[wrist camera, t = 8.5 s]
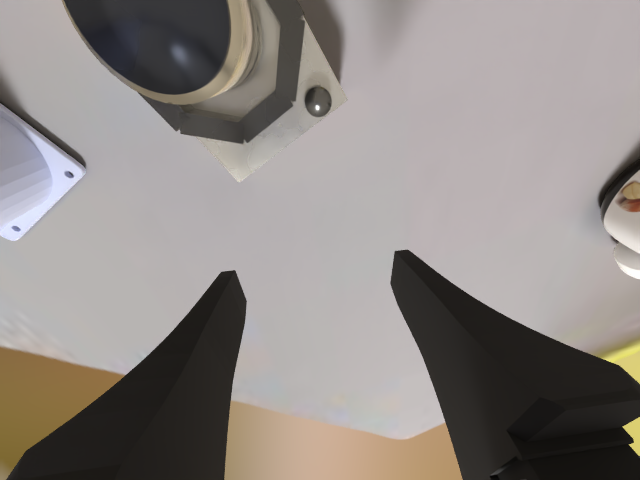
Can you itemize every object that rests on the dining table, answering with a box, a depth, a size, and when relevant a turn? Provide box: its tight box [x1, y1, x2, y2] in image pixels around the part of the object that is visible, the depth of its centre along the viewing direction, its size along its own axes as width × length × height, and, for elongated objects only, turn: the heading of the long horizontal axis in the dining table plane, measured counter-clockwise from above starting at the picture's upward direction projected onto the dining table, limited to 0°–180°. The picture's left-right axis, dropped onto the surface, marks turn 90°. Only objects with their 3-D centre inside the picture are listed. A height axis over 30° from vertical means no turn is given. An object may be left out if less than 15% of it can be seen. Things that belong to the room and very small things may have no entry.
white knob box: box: [138, 0, 348, 183], centre depth 12 cm, size 8×11×4 cm
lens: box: [62, 0, 262, 105], centre depth 9 cm, size 4×4×6 cm
